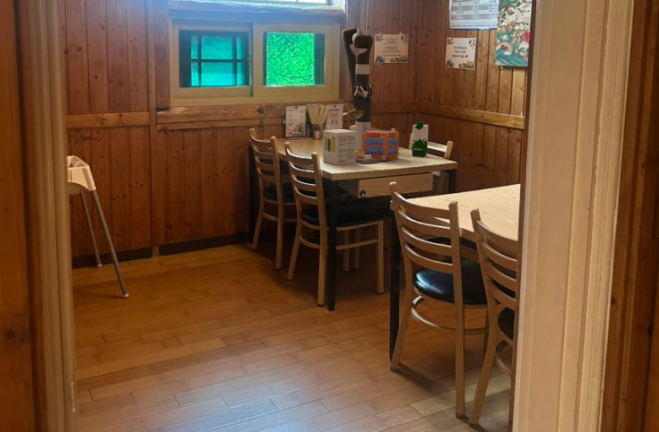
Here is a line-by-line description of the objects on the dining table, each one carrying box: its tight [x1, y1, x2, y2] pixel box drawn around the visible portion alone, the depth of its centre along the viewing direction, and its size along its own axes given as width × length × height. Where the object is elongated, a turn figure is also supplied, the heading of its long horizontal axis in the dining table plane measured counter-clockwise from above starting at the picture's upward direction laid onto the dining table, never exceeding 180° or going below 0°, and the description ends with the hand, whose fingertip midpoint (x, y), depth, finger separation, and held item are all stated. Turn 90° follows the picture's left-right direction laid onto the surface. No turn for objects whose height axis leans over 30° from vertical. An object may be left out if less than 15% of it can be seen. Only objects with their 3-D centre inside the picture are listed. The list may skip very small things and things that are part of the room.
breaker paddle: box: [356, 150, 365, 157], centre depth 394 cm, size 5×2×3 cm, turn 128°
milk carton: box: [411, 121, 429, 158], centre depth 413 cm, size 9×9×20 cm
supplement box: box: [322, 128, 357, 166], centre depth 387 cm, size 13×13×18 cm
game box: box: [361, 130, 400, 162], centre depth 402 cm, size 16×16×16 cm
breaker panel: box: [355, 155, 380, 165], centre depth 394 cm, size 11×18×4 cm, turn 38°
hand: (361, 103), depth 387 cm, fingers open, 8 cm apart
